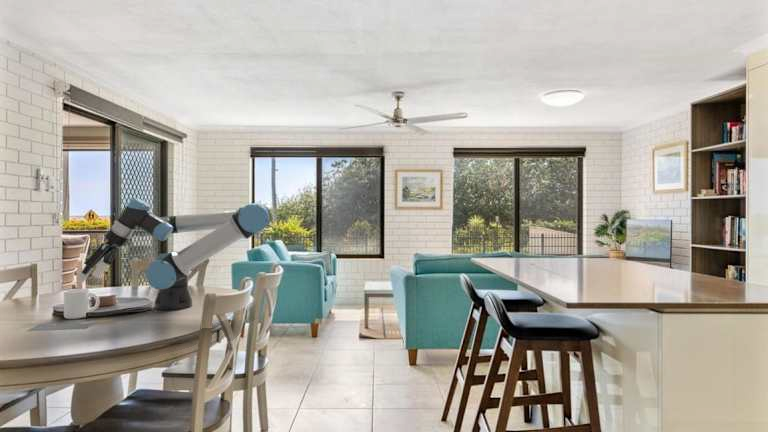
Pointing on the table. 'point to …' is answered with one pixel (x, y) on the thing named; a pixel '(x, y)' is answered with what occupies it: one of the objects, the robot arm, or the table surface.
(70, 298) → the mug
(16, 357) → the table surface
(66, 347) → the table surface
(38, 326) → the t mat
